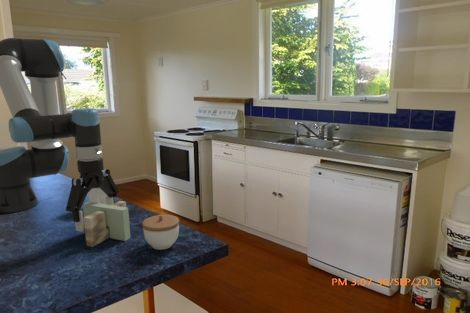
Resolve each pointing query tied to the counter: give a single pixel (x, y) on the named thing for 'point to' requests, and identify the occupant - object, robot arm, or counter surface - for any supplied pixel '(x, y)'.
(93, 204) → the sage plate
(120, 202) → the beech u-shaped block
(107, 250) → the counter surface
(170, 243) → the lidded jar
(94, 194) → the jar
